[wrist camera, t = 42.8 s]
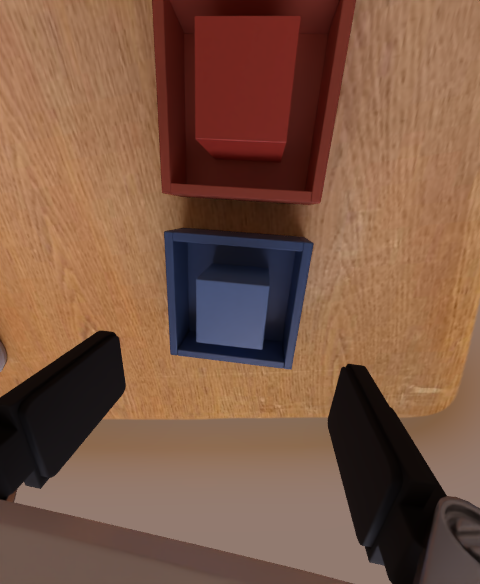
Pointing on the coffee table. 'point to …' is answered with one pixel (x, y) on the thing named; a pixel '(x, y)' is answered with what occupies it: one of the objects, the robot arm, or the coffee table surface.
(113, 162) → the coffee table surface
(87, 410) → the robot arm
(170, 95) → the red bin
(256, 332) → the blue block
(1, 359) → the cup
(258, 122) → the red block
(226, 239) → the blue bin
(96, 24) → the coffee table surface
